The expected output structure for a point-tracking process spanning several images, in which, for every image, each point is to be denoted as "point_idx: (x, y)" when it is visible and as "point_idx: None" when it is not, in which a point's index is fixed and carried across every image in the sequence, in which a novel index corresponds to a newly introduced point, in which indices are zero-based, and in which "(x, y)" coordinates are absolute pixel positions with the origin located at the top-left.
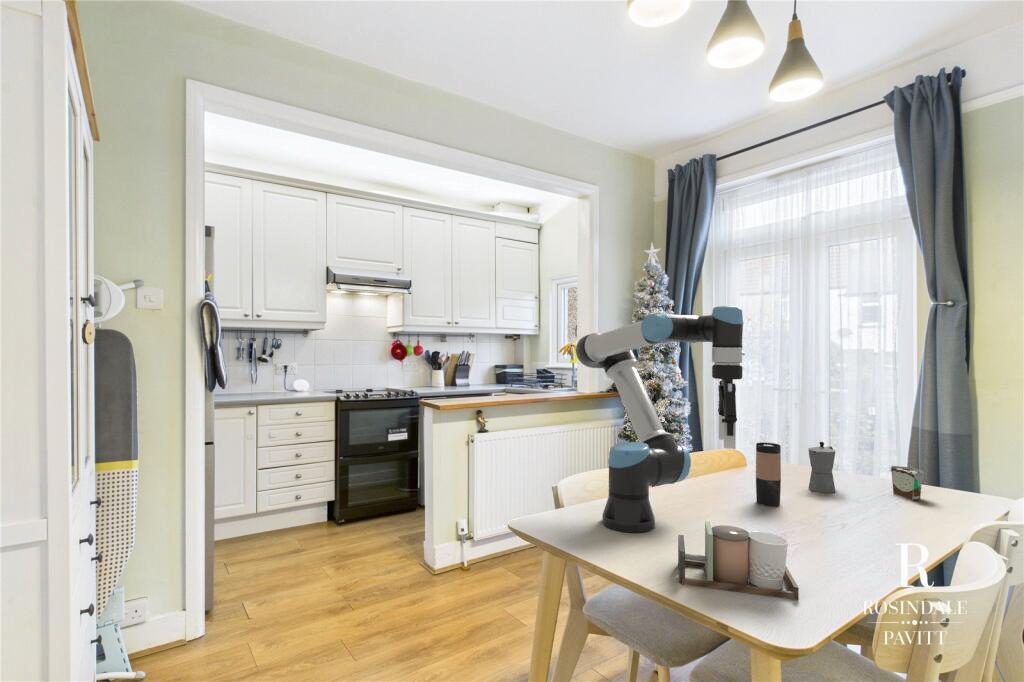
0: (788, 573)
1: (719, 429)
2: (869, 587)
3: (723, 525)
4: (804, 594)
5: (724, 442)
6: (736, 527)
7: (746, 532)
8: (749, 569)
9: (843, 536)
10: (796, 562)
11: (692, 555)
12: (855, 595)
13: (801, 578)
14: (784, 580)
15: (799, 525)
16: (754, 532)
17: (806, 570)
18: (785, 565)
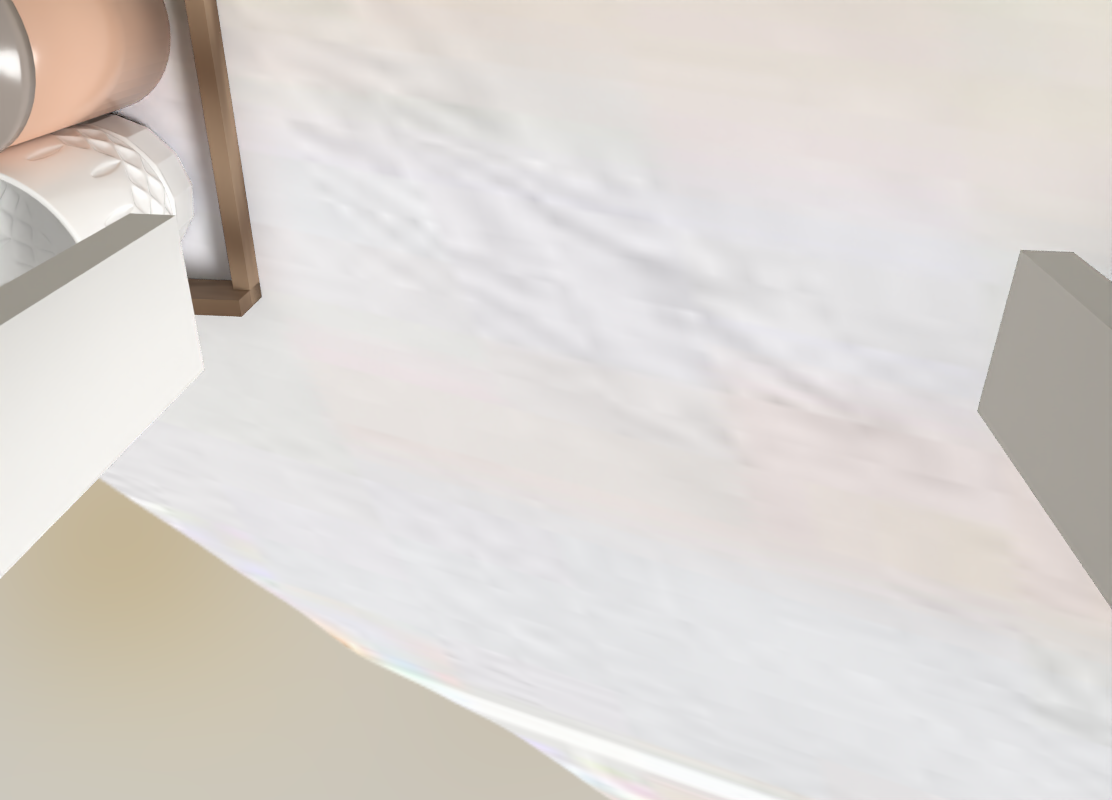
0: None
1: (1107, 335)
2: (298, 563)
3: (2, 18)
4: None
5: (78, 249)
6: (9, 107)
7: None
8: None
9: (892, 668)
10: (462, 384)
11: None
12: (196, 496)
13: (272, 355)
14: (208, 280)
15: (1051, 540)
16: (54, 213)
17: (377, 399)
18: (239, 314)
